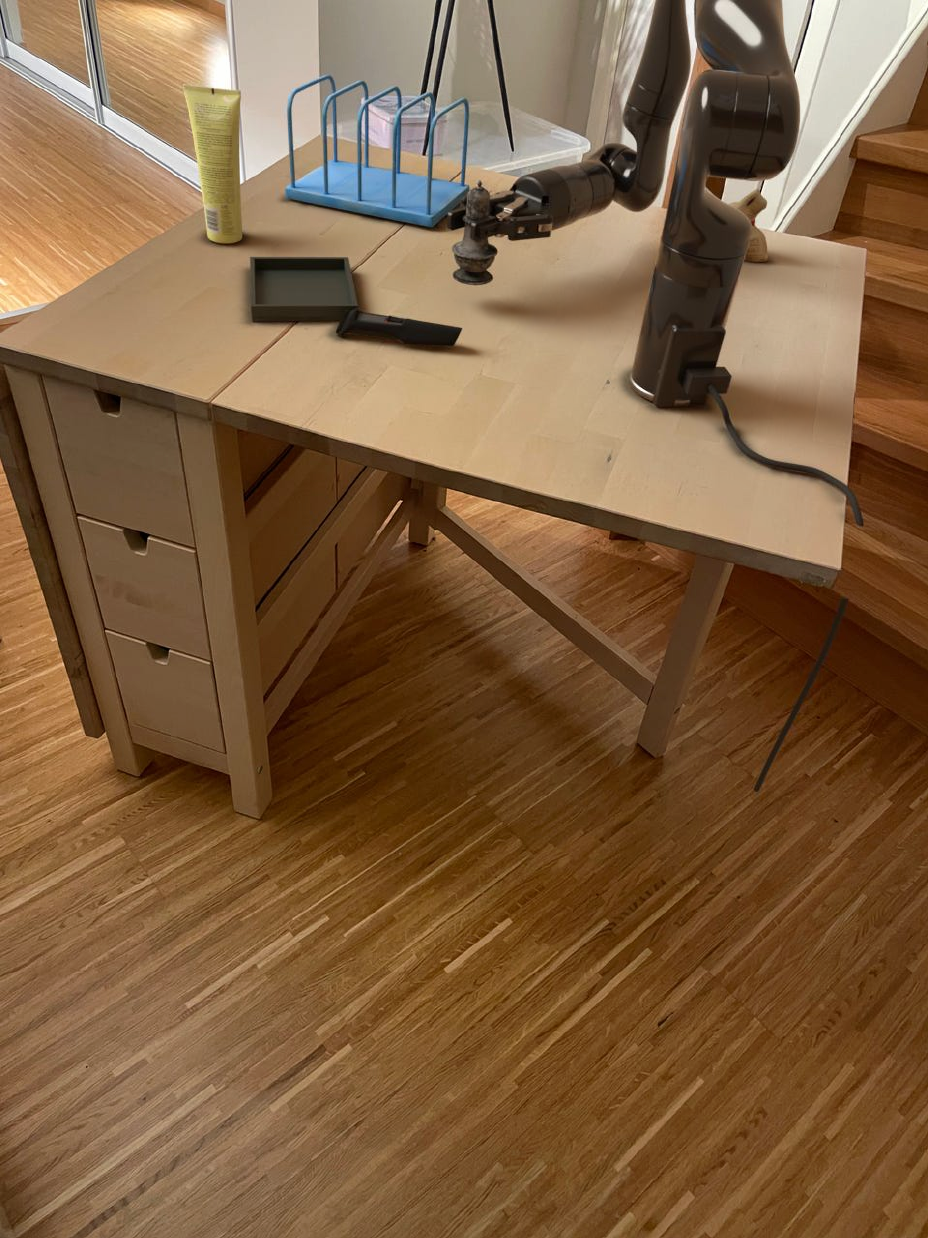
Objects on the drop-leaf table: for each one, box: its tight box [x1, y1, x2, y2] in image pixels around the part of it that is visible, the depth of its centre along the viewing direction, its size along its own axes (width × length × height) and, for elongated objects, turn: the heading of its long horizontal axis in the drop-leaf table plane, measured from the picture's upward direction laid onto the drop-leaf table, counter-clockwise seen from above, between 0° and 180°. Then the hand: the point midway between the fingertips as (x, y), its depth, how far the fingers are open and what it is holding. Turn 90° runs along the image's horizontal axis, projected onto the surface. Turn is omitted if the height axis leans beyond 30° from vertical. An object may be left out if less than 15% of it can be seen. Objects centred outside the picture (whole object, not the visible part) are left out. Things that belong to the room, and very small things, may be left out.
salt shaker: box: [451, 179, 499, 286], centre depth 116 cm, size 6×6×12 cm
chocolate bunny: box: [728, 188, 770, 263], centre depth 140 cm, size 6×8×10 cm
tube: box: [182, 83, 243, 244], centre depth 126 cm, size 6×5×20 cm
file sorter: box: [285, 74, 470, 228], centre depth 144 cm, size 25×17×15 cm
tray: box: [249, 256, 359, 322], centre depth 120 cm, size 15×13×2 cm
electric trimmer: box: [335, 308, 463, 347], centre depth 113 cm, size 4×16×3 cm, turn 79°
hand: (461, 226), depth 114 cm, fingers closed on salt shaker, 3 cm apart
